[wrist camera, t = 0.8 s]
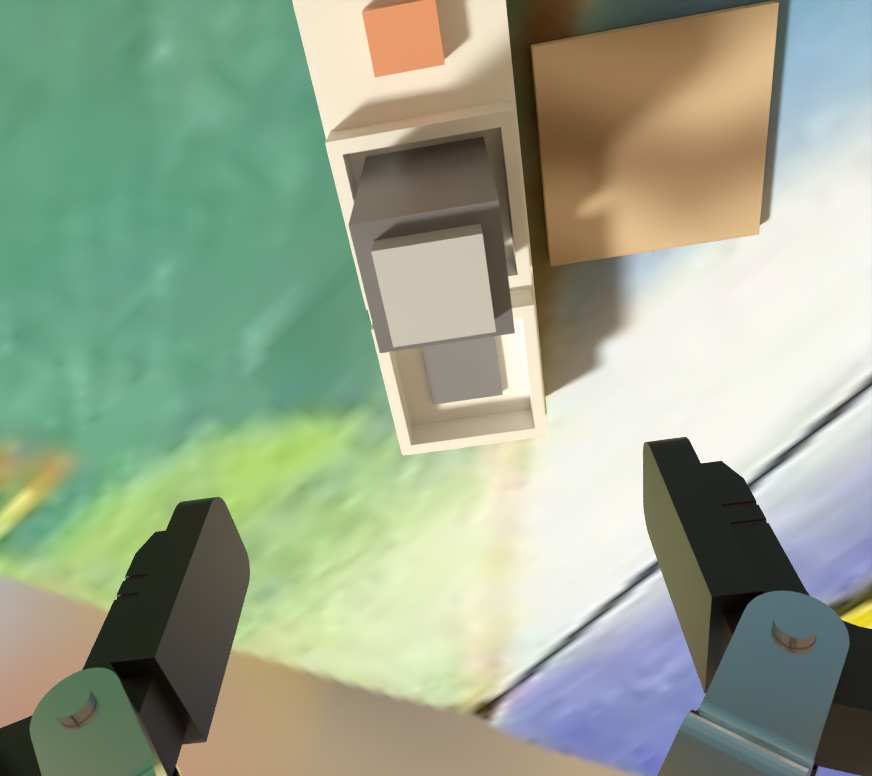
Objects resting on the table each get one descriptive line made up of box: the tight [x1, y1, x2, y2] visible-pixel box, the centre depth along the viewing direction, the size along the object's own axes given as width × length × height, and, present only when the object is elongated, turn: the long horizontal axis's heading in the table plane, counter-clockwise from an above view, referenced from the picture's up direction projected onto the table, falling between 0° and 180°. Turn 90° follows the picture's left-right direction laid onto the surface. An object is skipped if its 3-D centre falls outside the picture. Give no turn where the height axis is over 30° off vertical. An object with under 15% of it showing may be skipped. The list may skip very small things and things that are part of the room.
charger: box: [349, 137, 515, 353], centre depth 24 cm, size 4×4×8 cm
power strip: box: [292, 0, 549, 455], centre depth 28 cm, size 24×7×4 cm, turn 10°
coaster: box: [531, 1, 779, 267], centre depth 29 cm, size 9×9×1 cm
